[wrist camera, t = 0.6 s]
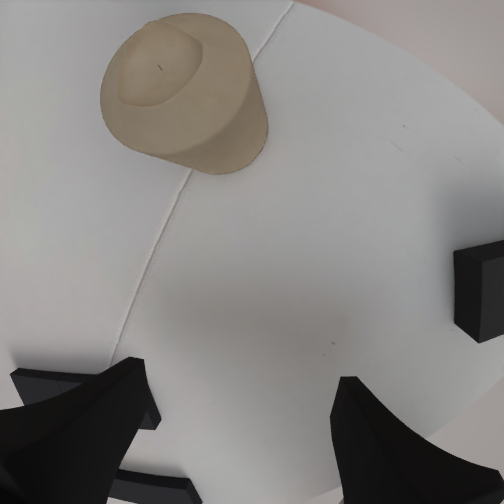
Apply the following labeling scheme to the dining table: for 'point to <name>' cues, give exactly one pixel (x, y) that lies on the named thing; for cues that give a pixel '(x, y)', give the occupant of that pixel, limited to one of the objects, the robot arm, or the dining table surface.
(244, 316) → the dining table surface
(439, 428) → the dining table surface
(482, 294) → the small block
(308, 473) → the dining table surface
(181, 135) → the candle
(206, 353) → the dining table surface
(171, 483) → the base pad
